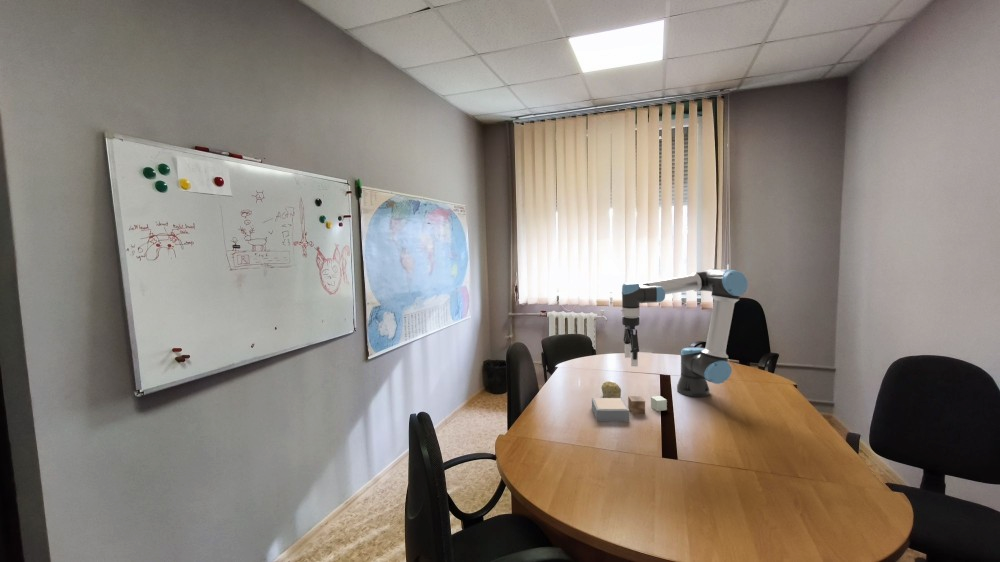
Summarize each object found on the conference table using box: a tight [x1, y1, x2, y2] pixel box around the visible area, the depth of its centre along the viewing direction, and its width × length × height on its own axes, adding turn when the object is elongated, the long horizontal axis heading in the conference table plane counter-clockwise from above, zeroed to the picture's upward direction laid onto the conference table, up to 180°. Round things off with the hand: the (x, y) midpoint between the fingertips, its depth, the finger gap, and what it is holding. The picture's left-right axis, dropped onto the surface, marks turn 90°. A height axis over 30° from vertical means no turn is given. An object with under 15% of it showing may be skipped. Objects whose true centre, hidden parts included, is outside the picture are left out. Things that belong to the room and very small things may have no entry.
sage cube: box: [650, 395, 668, 412], centre depth 182 cm, size 5×5×5 cm
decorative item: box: [600, 381, 622, 398], centre depth 198 cm, size 10×10×10 cm
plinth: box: [591, 397, 630, 422], centre depth 177 cm, size 14×14×5 cm
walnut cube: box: [627, 395, 646, 415], centre depth 180 cm, size 6×6×6 cm
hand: (630, 361), depth 180 cm, fingers open, 13 cm apart
